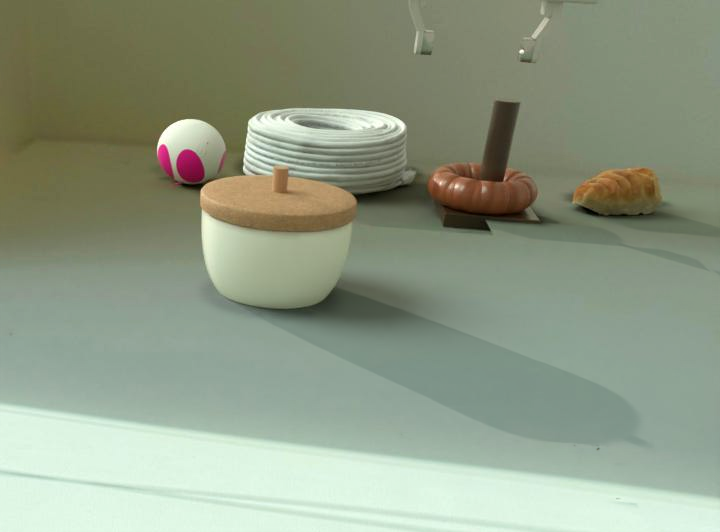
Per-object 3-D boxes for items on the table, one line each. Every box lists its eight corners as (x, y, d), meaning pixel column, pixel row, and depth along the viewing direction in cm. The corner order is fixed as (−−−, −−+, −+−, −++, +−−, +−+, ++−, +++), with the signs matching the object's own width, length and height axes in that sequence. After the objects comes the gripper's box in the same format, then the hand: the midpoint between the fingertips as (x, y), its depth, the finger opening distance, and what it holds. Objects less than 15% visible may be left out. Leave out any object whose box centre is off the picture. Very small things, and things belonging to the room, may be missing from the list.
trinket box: (172, 316, 65) (174, 170, 59) (230, 275, 73) (236, 142, 67) (317, 346, 62) (334, 196, 56) (360, 299, 70) (379, 163, 64)
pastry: (602, 221, 93) (614, 179, 90) (552, 204, 97) (562, 165, 95) (662, 213, 97) (675, 173, 95) (612, 197, 101) (623, 159, 99)
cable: (424, 179, 102) (435, 118, 99) (368, 212, 90) (377, 143, 86) (283, 155, 108) (288, 96, 104) (212, 182, 96) (214, 116, 92)
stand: (520, 209, 95) (547, 95, 88) (536, 233, 88) (567, 112, 81) (433, 202, 95) (453, 88, 88) (442, 226, 88) (465, 104, 81)
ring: (520, 194, 95) (527, 164, 93) (542, 221, 87) (550, 189, 85) (420, 186, 95) (425, 156, 93) (432, 213, 87) (438, 181, 85)
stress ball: (152, 212, 97) (126, 160, 92) (191, 156, 99) (167, 101, 93) (209, 224, 94) (185, 171, 88) (248, 166, 95) (227, 109, 90)
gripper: (630, -133, 76) (581, 62, 85) (385, -150, 77) (362, 45, 85) (651, -135, 72) (598, 71, 80) (389, -154, 72) (364, 54, 81)
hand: (474, 58), depth 83 cm, fingers open, 8 cm apart
